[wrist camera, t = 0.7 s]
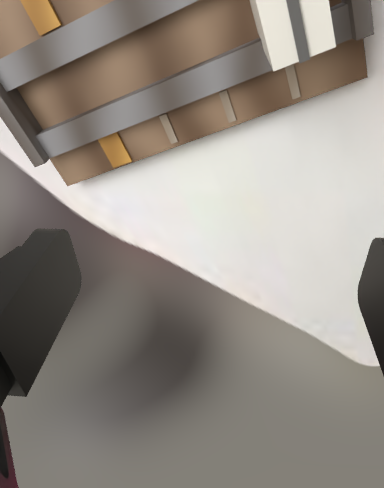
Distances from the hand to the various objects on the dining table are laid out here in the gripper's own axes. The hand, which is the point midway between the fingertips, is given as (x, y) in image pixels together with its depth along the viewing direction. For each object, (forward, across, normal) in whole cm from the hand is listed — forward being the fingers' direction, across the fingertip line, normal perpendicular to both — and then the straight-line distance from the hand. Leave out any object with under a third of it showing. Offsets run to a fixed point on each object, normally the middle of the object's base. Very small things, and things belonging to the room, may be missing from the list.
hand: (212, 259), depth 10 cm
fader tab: (+21, -3, -5) cm, 22 cm away
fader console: (+23, +5, -2) cm, 24 cm away
